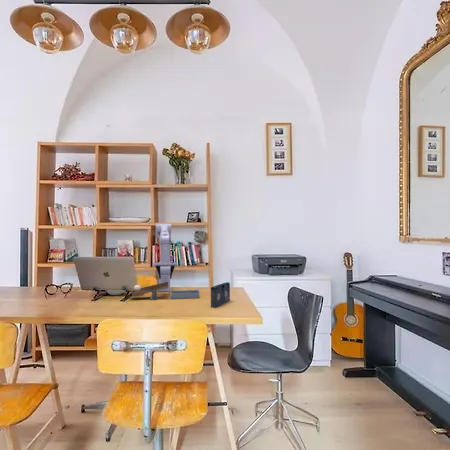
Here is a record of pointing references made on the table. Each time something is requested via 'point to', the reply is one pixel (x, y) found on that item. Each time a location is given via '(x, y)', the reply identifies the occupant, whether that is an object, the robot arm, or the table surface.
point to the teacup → (115, 292)
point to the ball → (137, 288)
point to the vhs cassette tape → (220, 294)
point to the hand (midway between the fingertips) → (165, 278)
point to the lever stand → (154, 295)
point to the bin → (184, 294)
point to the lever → (150, 289)
